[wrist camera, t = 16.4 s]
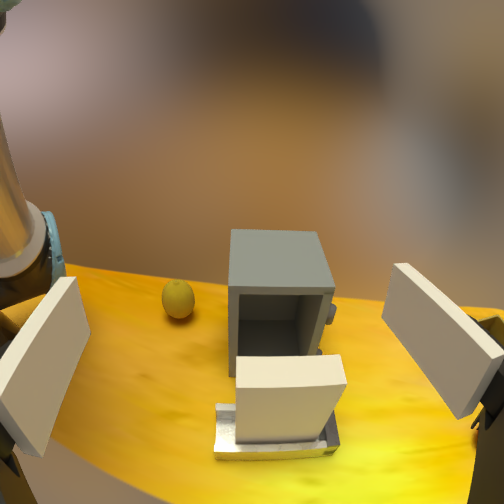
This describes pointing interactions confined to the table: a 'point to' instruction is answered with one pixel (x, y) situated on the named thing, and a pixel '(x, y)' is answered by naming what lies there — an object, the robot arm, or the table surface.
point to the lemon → (178, 298)
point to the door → (285, 397)
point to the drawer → (230, 451)
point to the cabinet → (277, 294)
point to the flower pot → (494, 327)
